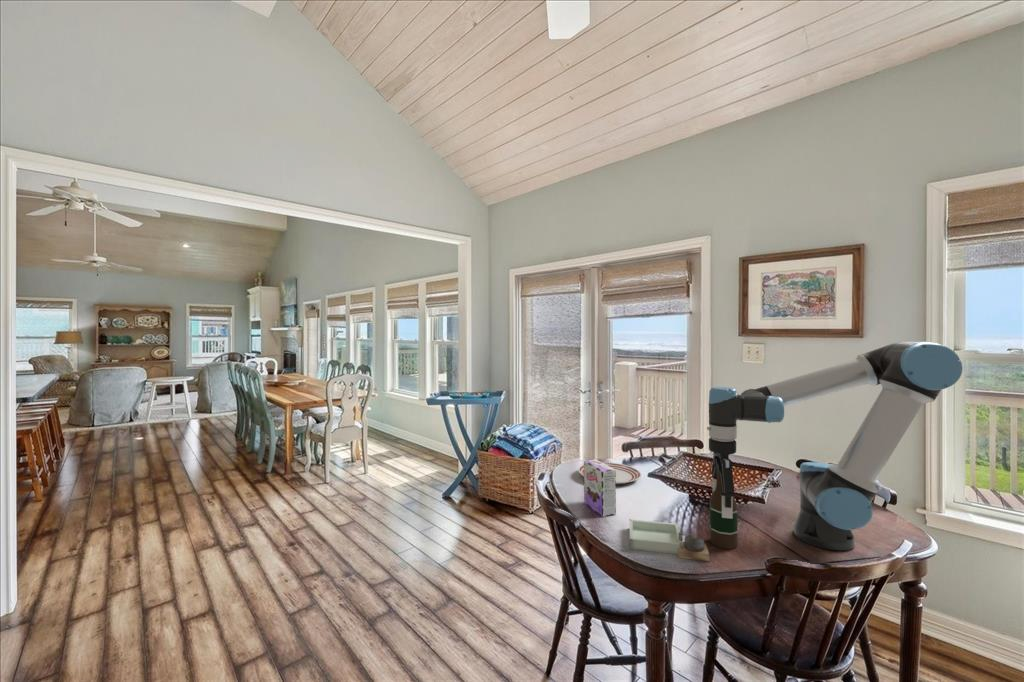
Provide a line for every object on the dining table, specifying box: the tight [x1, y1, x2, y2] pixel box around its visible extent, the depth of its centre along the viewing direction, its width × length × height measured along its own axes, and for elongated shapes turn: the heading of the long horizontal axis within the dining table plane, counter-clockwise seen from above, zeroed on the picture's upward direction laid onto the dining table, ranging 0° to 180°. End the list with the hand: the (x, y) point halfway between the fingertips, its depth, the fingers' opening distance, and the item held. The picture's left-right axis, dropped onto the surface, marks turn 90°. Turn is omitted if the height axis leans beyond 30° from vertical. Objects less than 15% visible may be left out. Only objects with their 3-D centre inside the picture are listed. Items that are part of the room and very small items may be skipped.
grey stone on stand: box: [677, 531, 710, 562], centre depth 124 cm, size 8×6×5 cm
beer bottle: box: [709, 466, 739, 550], centre depth 130 cm, size 8×8×24 cm
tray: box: [628, 518, 684, 555], centre depth 132 cm, size 15×14×3 cm
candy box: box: [583, 458, 617, 518], centre depth 157 cm, size 14×6×16 cm, turn 18°
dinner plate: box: [577, 461, 642, 486], centre depth 191 cm, size 27×27×3 cm
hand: (722, 508), depth 130 cm, fingers open, 13 cm apart
